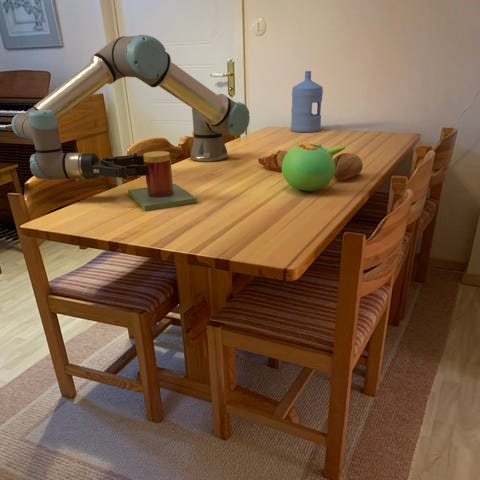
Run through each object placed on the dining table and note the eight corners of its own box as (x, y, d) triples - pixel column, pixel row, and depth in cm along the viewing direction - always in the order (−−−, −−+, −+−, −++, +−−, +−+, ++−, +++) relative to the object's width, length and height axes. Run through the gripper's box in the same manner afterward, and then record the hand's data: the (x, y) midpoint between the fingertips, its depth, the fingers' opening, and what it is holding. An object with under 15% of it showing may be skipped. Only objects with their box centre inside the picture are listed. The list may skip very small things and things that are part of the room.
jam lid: (141, 159, 147) (140, 152, 146) (165, 156, 149) (165, 150, 149) (148, 163, 141) (147, 157, 140) (173, 160, 143) (173, 154, 142)
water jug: (289, 132, 252) (291, 72, 238) (292, 128, 265) (293, 70, 251) (320, 132, 250) (323, 71, 236) (320, 128, 263) (324, 70, 249)
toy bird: (272, 186, 161) (273, 139, 153) (316, 180, 166) (319, 134, 159) (299, 199, 146) (301, 149, 139) (346, 192, 152) (350, 143, 144)
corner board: (128, 194, 156) (127, 189, 155) (175, 187, 162) (174, 183, 161) (145, 211, 140) (144, 205, 139) (197, 202, 146) (196, 198, 145)
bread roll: (324, 181, 165) (325, 156, 161) (340, 171, 176) (341, 148, 172) (351, 184, 161) (353, 159, 157) (365, 174, 172) (368, 151, 168)
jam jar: (144, 192, 152) (140, 154, 146) (169, 189, 155) (165, 152, 149) (151, 198, 146) (147, 159, 140) (177, 195, 148) (173, 156, 143)
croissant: (312, 179, 180) (317, 157, 180) (305, 171, 171) (310, 149, 171) (261, 173, 189) (265, 152, 188) (251, 165, 180) (255, 144, 179)
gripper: (98, 169, 160) (161, 168, 159) (72, 189, 138) (146, 188, 137) (94, 145, 156) (159, 144, 155) (67, 162, 134) (142, 161, 133)
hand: (153, 165), depth 146 cm, fingers open, 13 cm apart
